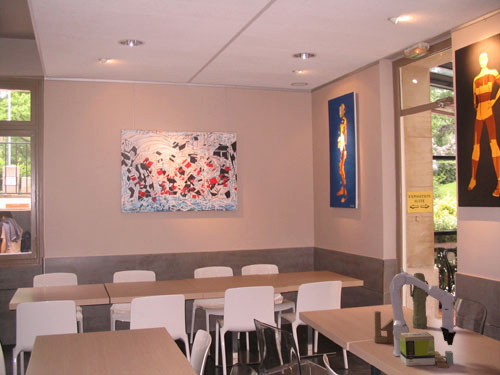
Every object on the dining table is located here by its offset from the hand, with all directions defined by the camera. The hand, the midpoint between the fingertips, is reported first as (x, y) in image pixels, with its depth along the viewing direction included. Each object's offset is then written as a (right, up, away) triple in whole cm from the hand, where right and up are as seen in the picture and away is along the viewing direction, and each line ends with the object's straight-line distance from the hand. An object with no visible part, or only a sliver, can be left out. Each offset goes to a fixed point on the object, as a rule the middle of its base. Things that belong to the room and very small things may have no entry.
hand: (448, 343), depth 286 cm
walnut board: (-5, -9, +1) cm, 11 cm away
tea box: (-17, -10, -2) cm, 19 cm away
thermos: (+8, -11, +74) cm, 75 cm away
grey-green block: (-3, -9, -4) cm, 11 cm away
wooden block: (-24, -11, +38) cm, 47 cm away
